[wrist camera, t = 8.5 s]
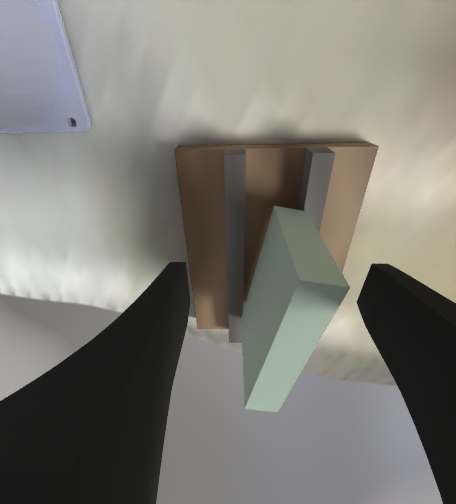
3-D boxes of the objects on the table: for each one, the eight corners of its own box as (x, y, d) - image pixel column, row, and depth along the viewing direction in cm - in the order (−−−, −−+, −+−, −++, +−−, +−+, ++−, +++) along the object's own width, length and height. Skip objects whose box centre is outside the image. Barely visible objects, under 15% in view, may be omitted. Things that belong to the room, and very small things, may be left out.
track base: (198, 319, 25) (195, 342, 23) (178, 145, 16) (169, 155, 14) (321, 319, 25) (330, 342, 22) (369, 142, 16) (392, 151, 14)
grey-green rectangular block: (241, 317, 21) (244, 408, 15) (274, 205, 15) (299, 279, 9) (265, 320, 21) (277, 412, 15) (305, 211, 15) (350, 287, 10)
